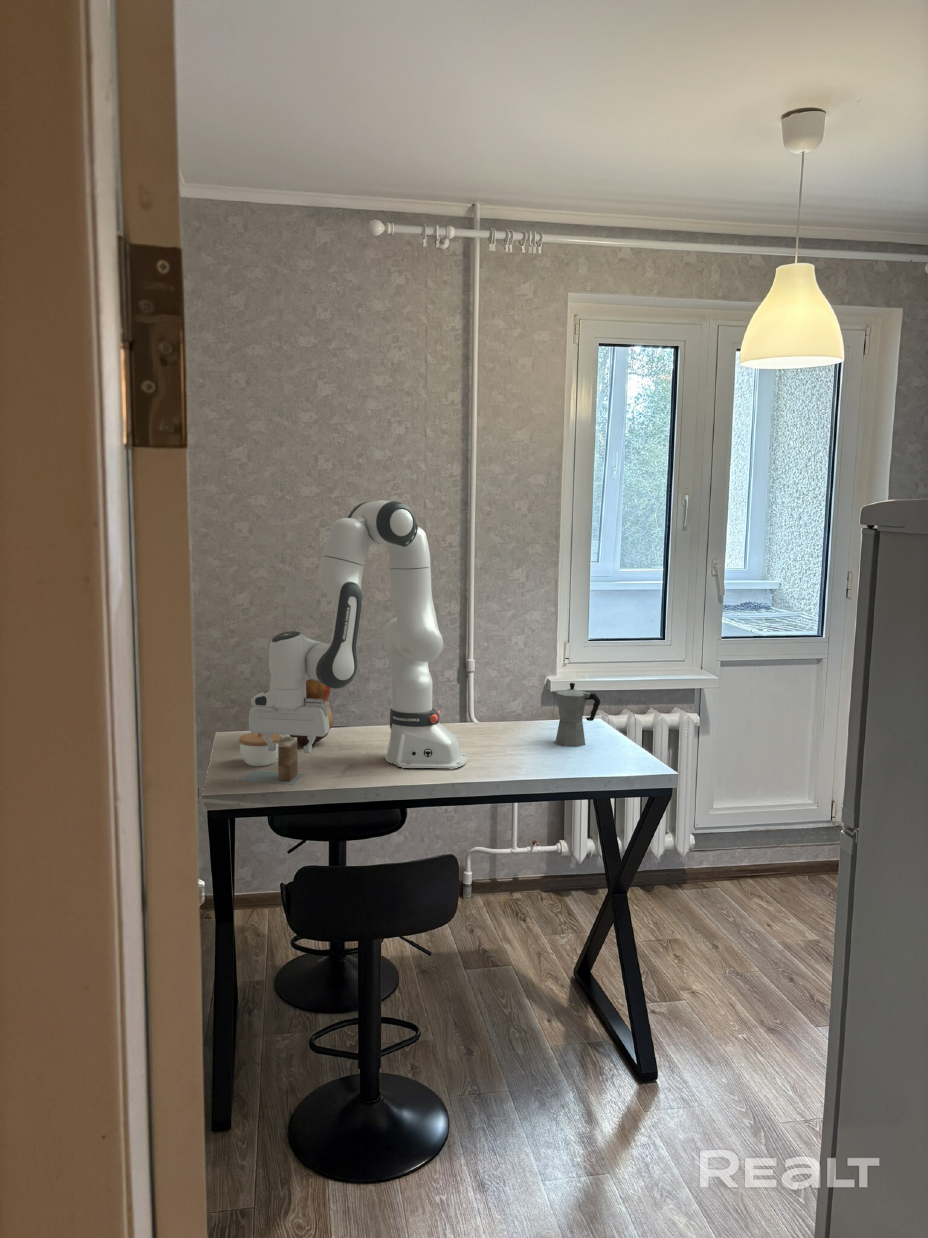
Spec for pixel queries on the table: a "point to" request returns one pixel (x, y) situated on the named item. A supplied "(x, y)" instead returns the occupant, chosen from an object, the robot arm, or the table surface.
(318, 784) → the table surface
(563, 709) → the coffeepot
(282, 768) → the brown and white block
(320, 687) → the butternut squash
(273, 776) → the slate mat
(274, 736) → the lidded jar
